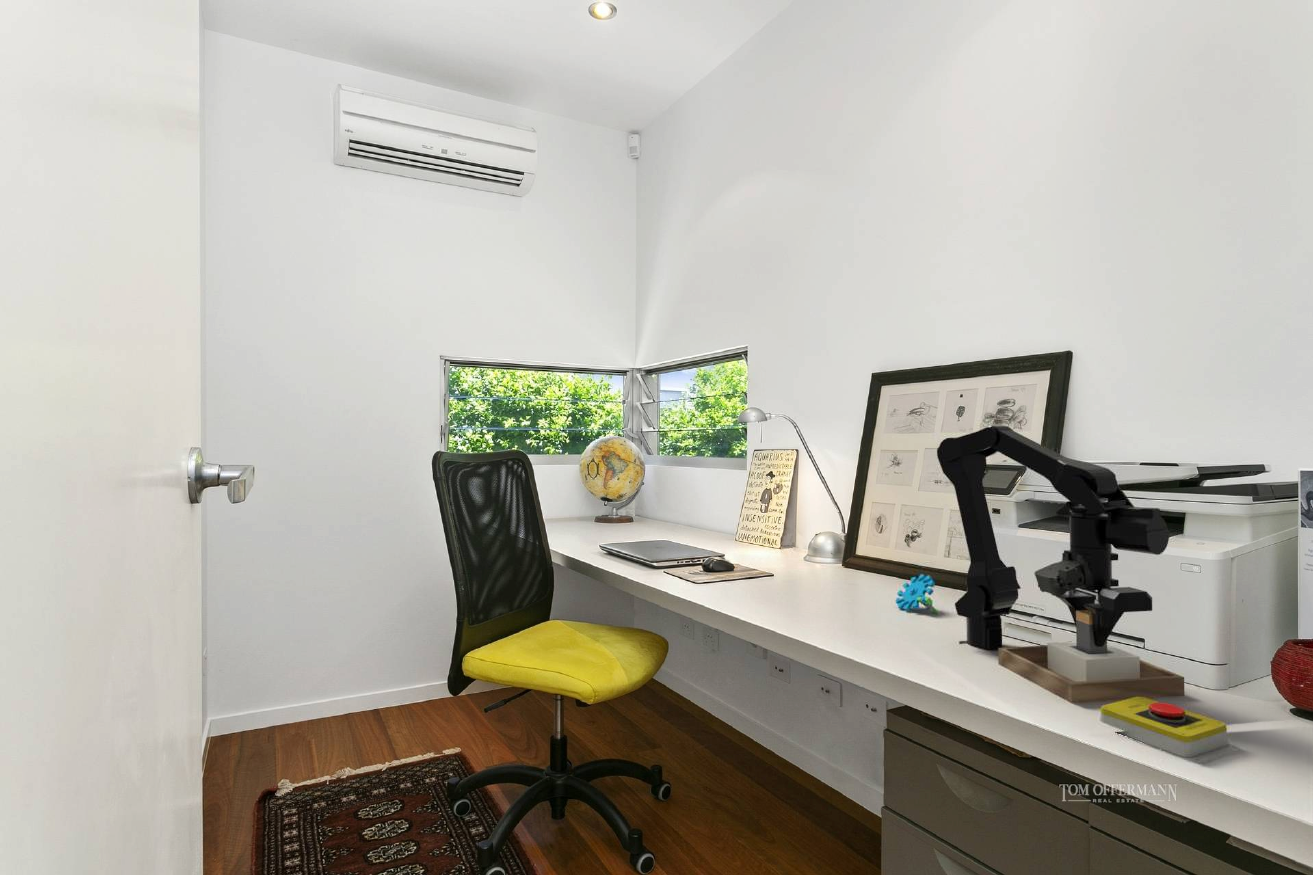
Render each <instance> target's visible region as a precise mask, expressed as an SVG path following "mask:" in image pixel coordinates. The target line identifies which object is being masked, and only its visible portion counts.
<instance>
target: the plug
mask: <svg viewBox="0 0 1313 875" xmlns="http://www.w3.org/2000/svg"><path fill="white" fill-rule="evenodd" d="M1075 629H1076V632H1075V633H1076V634H1075V637H1076V640H1075V642H1076V645H1077V650H1079V651H1082V652H1084V653H1086V654H1089V655H1091V654H1107V644H1108V639H1107V640H1106V642H1105V644H1104V645H1103V646H1102V647H1097V646H1095V641H1094V634H1093V623H1092V614H1091V612H1090V611H1089V610H1078V611H1076V626H1075Z"/></svg>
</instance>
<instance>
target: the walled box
mask: <svg viewBox="0 0 1313 875" xmlns="http://www.w3.org/2000/svg"><path fill="white" fill-rule="evenodd" d="M997 651H998V653H997V654H998V665H999V666H1001V667H1003V668H1005V669H1006V670H1009V671H1010V672H1011V673H1014V674H1016V675H1017V676H1019V677H1022V678H1024V679H1026V680H1027V681H1029V682H1031V683H1032V684H1034V685H1036V686H1039V687H1041V688H1043V689H1044V690H1046V691H1048V692H1049V693H1051V694H1053V695H1055V696H1057V697H1059V698H1061V699H1062V700H1064V701H1066V702H1068V703H1070V704H1081V703H1084V704H1085V703H1094V702H1095V703H1097V702H1110V701H1122V700H1126V699H1130V698H1134V697H1144V698H1148V699H1155V698H1157V699H1158V698H1172V697H1184V696H1185V695H1186V694H1185V677H1184V676H1182V675H1181V674H1180V675H1179V674H1177V673H1176V672H1175V673H1174V672H1172V671H1169V670H1167V669H1164V668H1162V667H1159V666H1156V665H1154V664H1152V663H1150V662H1147V661H1144V660H1142V659H1140V678H1131V679H1115V680H1099V681H1083V682H1075V681H1072V680H1070V679H1068V678H1066V677H1064V676H1062V675H1060V674H1058V673H1056V672H1054V671H1052V670H1050V669H1048V644H1046V645H1044V644H1043V645H1032V646H1031V645H1028V646H1014V647H1013V646H1012V647H1008V646H1007V647H1002V648H998V650H997Z"/></svg>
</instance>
